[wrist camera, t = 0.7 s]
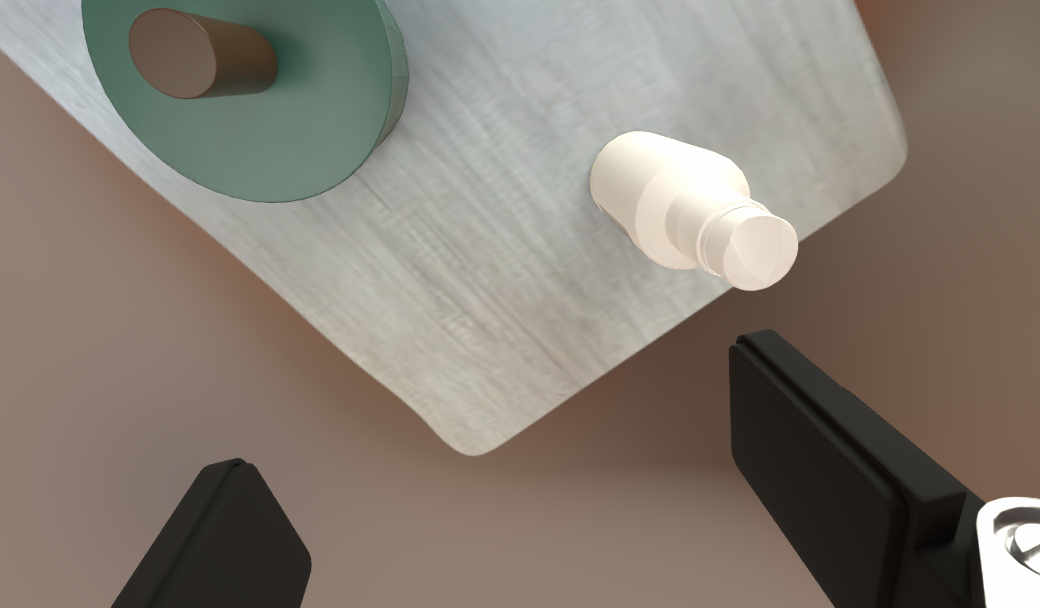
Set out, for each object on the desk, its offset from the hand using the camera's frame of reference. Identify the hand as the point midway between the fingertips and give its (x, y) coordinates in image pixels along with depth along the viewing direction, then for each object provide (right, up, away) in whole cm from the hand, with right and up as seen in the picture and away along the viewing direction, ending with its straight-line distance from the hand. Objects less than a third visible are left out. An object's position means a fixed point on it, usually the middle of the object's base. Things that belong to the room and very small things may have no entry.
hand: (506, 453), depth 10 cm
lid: (-12, +14, +13) cm, 23 cm away
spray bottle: (+9, +13, +28) cm, 32 cm away
